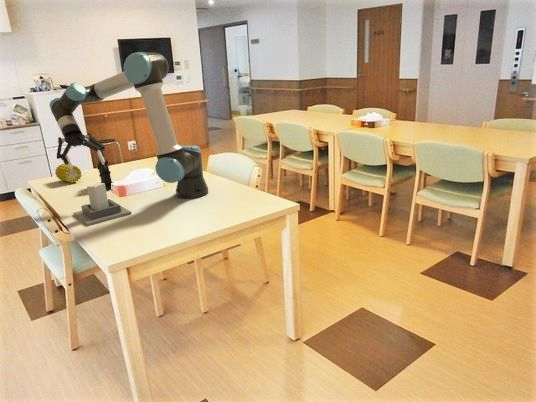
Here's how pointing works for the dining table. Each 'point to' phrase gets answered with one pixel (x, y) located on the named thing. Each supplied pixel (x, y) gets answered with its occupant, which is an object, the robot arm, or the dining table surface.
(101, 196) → the skincare box
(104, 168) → the black knobby slab
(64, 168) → the food
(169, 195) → the dining table surface
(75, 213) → the dock
